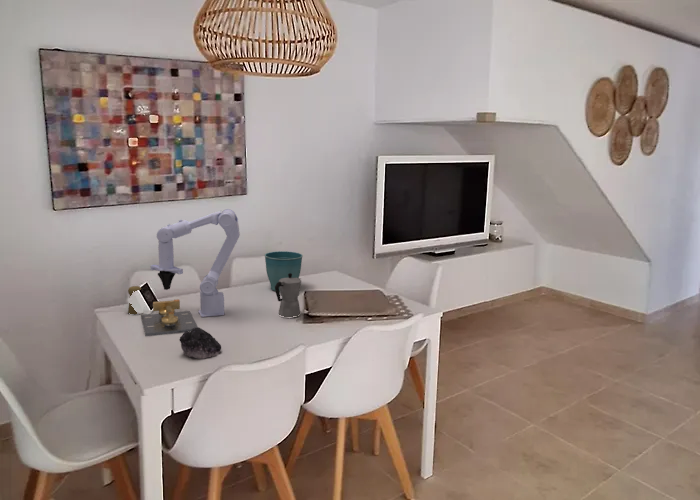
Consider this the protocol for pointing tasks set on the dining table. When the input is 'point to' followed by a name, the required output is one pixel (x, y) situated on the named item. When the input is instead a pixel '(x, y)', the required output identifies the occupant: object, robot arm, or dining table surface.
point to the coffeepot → (288, 296)
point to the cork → (130, 291)
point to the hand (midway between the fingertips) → (167, 289)
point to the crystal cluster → (199, 344)
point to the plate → (155, 326)
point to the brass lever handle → (169, 317)
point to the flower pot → (282, 266)
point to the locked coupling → (162, 305)
